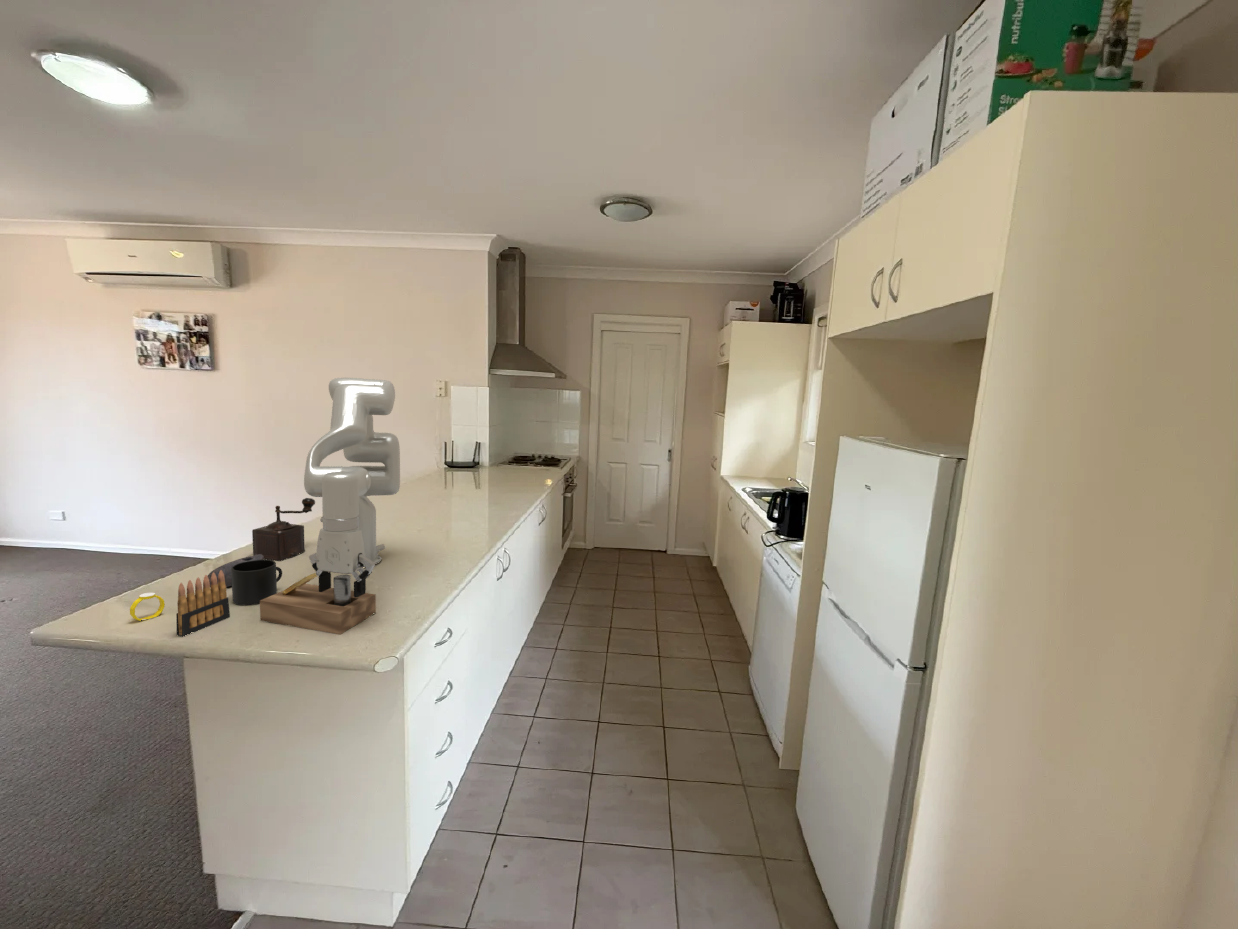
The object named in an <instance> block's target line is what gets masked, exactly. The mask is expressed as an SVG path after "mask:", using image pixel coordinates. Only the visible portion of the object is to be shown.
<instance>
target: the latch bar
mask: <svg viewBox="0 0 1238 929" xmlns="http://www.w3.org/2000/svg"><path fill="white" fill-rule="evenodd" d="M317 577H318V576H317V575H316V572H314V573H312V574H309V575H307V576H304V577H303V578H301V579H300V580H298V581H297V582H295V583H294V584H292V585H290V586H288V587H287V588H285V589H283V590H282V594H283V595H285V594H287V593H290V592H292V591H294V590H296V589H298V588H299V587H301V586H303V585H304V584H308V583H309V582H310V581H313V580H314V579H315V578H317Z"/></svg>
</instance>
